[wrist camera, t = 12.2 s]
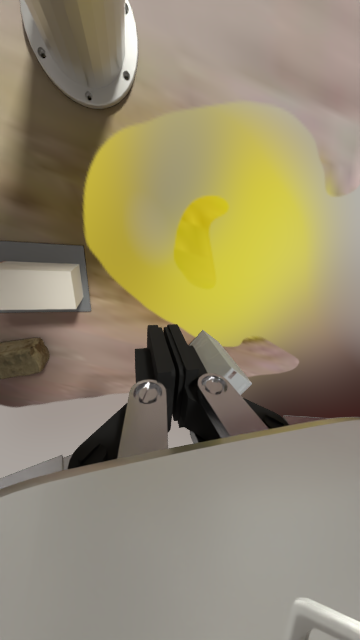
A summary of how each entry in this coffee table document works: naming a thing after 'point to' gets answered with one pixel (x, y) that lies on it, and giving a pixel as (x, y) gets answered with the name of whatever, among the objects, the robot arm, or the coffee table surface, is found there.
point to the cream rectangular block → (39, 285)
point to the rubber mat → (48, 255)
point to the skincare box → (219, 361)
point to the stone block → (22, 357)
